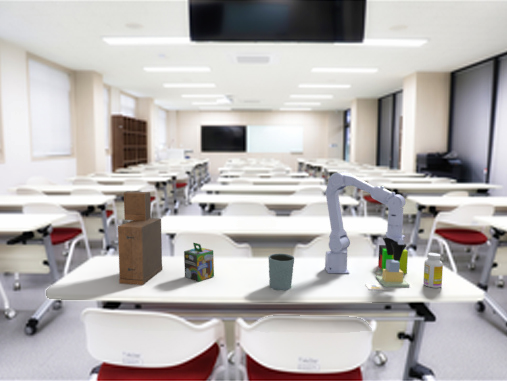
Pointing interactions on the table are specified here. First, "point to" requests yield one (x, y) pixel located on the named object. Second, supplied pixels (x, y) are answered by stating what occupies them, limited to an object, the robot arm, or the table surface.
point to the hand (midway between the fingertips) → (393, 257)
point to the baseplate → (392, 283)
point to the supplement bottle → (433, 270)
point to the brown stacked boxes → (139, 241)
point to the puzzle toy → (392, 258)
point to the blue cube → (392, 265)
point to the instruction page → (375, 287)
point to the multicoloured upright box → (199, 263)
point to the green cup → (280, 271)
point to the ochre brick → (392, 276)
